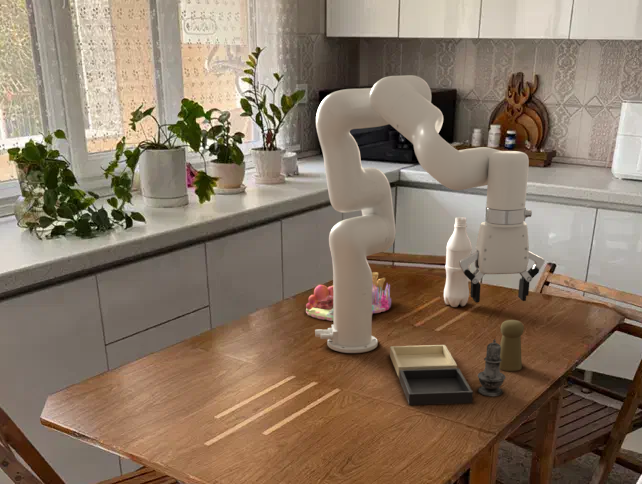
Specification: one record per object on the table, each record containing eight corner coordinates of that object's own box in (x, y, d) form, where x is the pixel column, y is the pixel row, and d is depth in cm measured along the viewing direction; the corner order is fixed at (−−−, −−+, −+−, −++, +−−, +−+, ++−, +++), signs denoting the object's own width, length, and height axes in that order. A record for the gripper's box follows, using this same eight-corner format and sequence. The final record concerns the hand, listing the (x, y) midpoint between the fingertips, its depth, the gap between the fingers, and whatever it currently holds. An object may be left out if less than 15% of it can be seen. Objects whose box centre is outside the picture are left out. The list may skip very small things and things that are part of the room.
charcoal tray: (408, 405, 163) (409, 394, 162) (399, 380, 175) (399, 369, 174) (472, 403, 164) (473, 392, 163) (458, 378, 176) (458, 368, 175)
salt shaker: (504, 397, 166) (509, 344, 161) (476, 395, 167) (480, 342, 162) (504, 386, 171) (508, 335, 167) (476, 384, 172) (480, 333, 168)
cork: (524, 363, 184) (528, 319, 180) (518, 372, 179) (523, 327, 174) (498, 359, 186) (502, 315, 182) (492, 368, 181) (496, 323, 177)
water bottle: (469, 308, 223) (475, 220, 213) (444, 308, 223) (449, 220, 213) (466, 300, 230) (471, 215, 220) (441, 300, 230) (446, 215, 220)
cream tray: (398, 377, 177) (398, 367, 176) (389, 356, 189) (390, 346, 188) (456, 375, 177) (457, 365, 176) (444, 354, 190) (445, 344, 189)
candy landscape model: (315, 293, 237) (315, 264, 233) (393, 296, 234) (394, 266, 230) (301, 320, 214) (300, 287, 210) (387, 323, 211) (388, 290, 207)
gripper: (541, 212, 159) (534, 293, 165) (457, 214, 158) (453, 296, 164) (554, 218, 152) (546, 303, 158) (466, 221, 151) (461, 306, 157)
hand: (498, 300), depth 161 cm, fingers open, 9 cm apart
